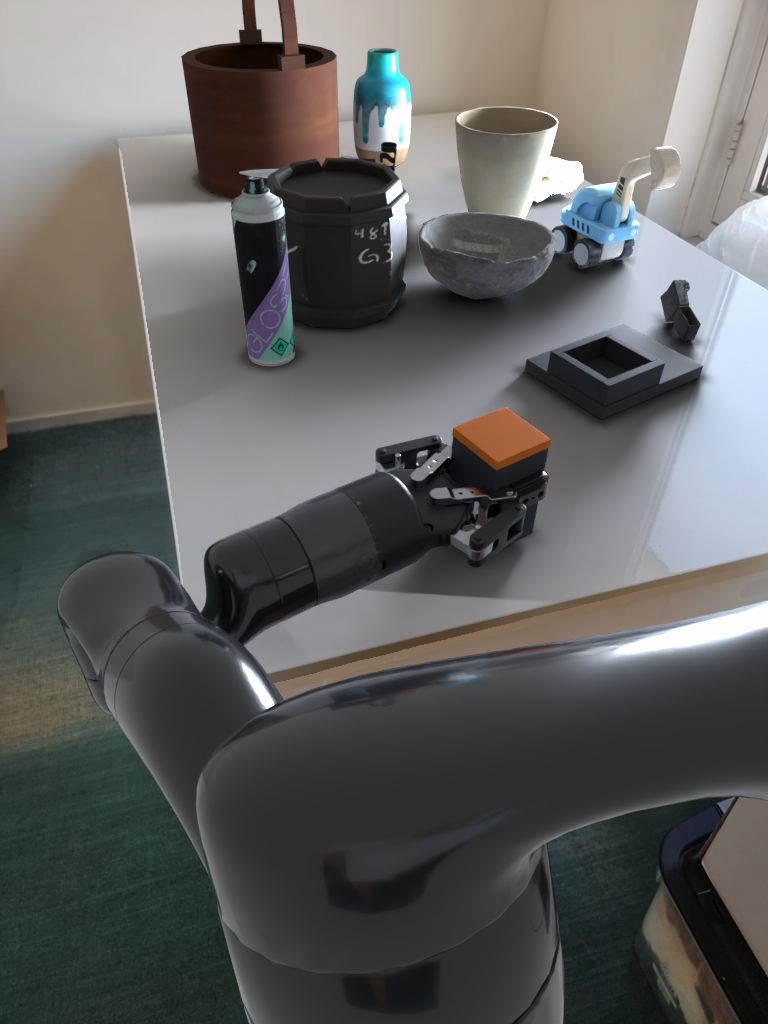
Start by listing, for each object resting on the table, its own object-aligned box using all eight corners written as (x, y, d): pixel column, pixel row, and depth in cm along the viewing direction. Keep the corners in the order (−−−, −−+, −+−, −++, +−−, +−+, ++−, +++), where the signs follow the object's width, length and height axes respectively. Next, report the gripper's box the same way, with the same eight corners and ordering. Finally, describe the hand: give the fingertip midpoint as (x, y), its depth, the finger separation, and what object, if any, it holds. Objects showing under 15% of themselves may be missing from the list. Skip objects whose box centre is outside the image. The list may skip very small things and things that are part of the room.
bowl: (548, 267, 107) (557, 211, 101) (547, 324, 94) (557, 262, 88) (424, 257, 109) (427, 202, 104) (407, 311, 96) (409, 251, 91)
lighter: (687, 351, 94) (707, 330, 89) (672, 352, 93) (691, 331, 88) (674, 295, 96) (693, 272, 91) (659, 296, 96) (677, 273, 91)
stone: (497, 167, 141) (500, 139, 138) (558, 166, 142) (562, 138, 139) (522, 205, 126) (526, 175, 123) (590, 204, 127) (596, 174, 123)
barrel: (303, 264, 107) (296, 147, 96) (421, 284, 102) (426, 163, 92) (242, 317, 94) (226, 189, 84) (373, 343, 89) (373, 211, 79)
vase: (367, 179, 135) (367, 58, 123) (345, 162, 143) (342, 47, 130) (419, 172, 139) (423, 54, 126) (394, 156, 146) (397, 43, 133)
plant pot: (469, 206, 125) (478, 101, 115) (554, 222, 120) (571, 114, 110) (432, 235, 115) (438, 123, 105) (522, 254, 110) (538, 138, 100)
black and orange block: (533, 533, 64) (551, 439, 57) (484, 557, 62) (497, 462, 55) (492, 498, 67) (505, 406, 61) (444, 520, 65) (452, 427, 59)
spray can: (255, 370, 85) (233, 188, 71) (243, 348, 88) (221, 171, 75) (301, 361, 86) (288, 182, 73) (288, 340, 90) (273, 166, 77)
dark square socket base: (699, 377, 84) (710, 345, 82) (601, 420, 78) (609, 387, 75) (621, 334, 92) (628, 304, 89) (524, 370, 85) (529, 339, 83)
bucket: (217, 208, 123) (181, -56, 100) (185, 163, 141) (149, -69, 118) (360, 189, 131) (358, -60, 108) (313, 149, 149) (302, -72, 126)
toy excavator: (617, 291, 101) (648, 157, 90) (543, 248, 112) (562, 124, 101) (664, 279, 104) (700, 148, 93) (587, 238, 115) (610, 117, 104)
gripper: (303, 521, 62) (463, 455, 69) (401, 634, 53) (573, 544, 60) (297, 448, 57) (470, 385, 64) (404, 560, 48) (591, 471, 55)
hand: (519, 462), depth 62 cm, fingers closed on black and orange block, 5 cm apart
